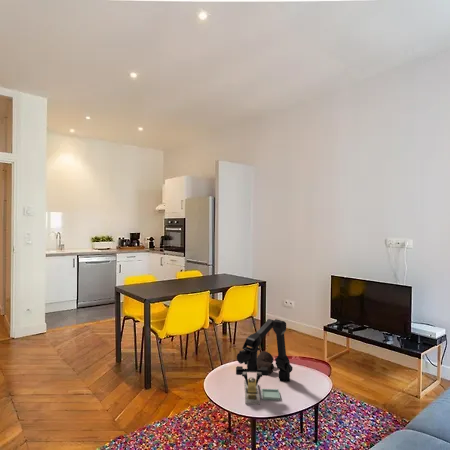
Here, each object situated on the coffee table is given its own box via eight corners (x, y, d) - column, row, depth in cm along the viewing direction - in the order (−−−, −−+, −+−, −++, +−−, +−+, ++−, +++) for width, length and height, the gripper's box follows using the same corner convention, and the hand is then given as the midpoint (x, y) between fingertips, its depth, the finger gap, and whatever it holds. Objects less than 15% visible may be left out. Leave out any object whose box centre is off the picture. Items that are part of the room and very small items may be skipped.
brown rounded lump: (268, 364, 234) (277, 353, 246) (248, 360, 242) (258, 350, 255) (270, 378, 235) (279, 366, 248) (250, 373, 244) (260, 362, 256)
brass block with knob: (255, 389, 210) (255, 377, 210) (255, 393, 206) (256, 380, 205) (247, 389, 210) (247, 376, 210) (247, 392, 206) (248, 380, 206)
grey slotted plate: (257, 384, 222) (257, 380, 222) (259, 404, 198) (259, 399, 198) (244, 383, 222) (244, 379, 222) (245, 403, 198) (245, 399, 198)
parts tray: (278, 391, 213) (278, 389, 212) (280, 400, 203) (280, 397, 202) (261, 391, 213) (261, 388, 213) (262, 399, 203) (262, 397, 203)
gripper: (267, 354, 215) (266, 379, 216) (236, 353, 216) (235, 378, 216) (268, 361, 204) (268, 388, 204) (236, 360, 205) (235, 387, 205)
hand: (251, 385), depth 208 cm, fingers closed on brass block with knob, 4 cm apart
